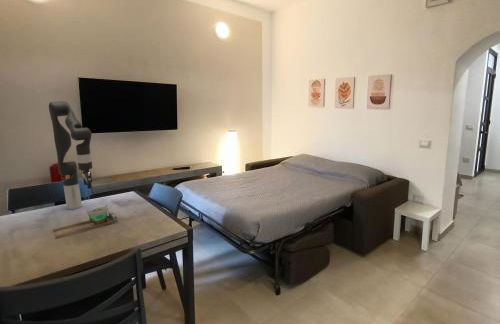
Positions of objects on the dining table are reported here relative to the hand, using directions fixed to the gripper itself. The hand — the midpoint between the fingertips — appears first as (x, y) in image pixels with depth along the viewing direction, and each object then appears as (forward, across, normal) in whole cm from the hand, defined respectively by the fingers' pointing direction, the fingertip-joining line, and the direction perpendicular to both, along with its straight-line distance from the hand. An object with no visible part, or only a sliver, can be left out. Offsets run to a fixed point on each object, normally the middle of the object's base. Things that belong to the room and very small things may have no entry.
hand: (87, 186), depth 175 cm
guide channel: (+23, +7, -4) cm, 24 cm away
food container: (+23, +9, +3) cm, 25 cm away
